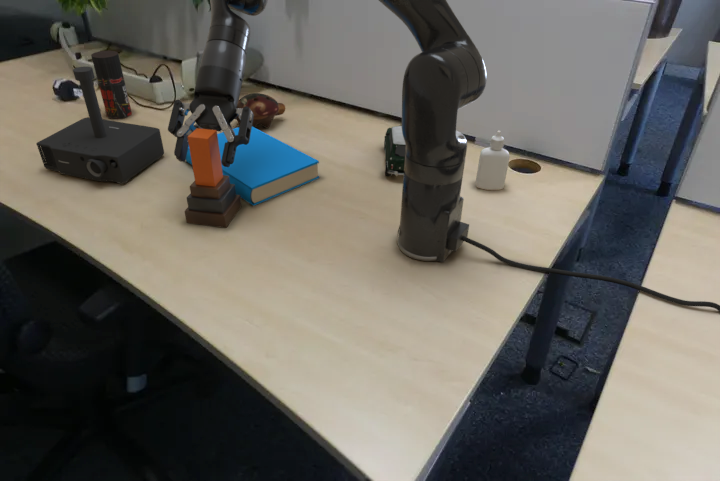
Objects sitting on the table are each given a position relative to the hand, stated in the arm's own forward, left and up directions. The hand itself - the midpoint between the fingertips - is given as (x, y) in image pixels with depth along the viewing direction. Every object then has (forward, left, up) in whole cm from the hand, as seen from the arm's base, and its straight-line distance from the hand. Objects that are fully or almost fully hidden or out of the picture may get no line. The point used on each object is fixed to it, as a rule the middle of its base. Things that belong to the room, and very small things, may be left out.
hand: (202, 162), depth 93 cm
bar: (0, -1, -4) cm, 4 cm away
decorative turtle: (+20, -37, -11) cm, 44 cm away
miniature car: (-19, -39, -11) cm, 45 cm away
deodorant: (+53, -23, -11) cm, 59 cm away
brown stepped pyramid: (0, -1, -11) cm, 11 cm away
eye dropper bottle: (-39, -39, -11) cm, 56 cm away
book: (+6, -18, -11) cm, 23 cm away
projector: (+33, -3, -11) cm, 35 cm away
